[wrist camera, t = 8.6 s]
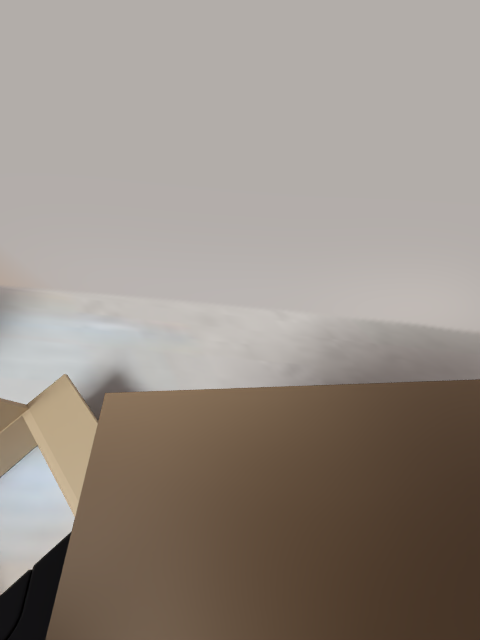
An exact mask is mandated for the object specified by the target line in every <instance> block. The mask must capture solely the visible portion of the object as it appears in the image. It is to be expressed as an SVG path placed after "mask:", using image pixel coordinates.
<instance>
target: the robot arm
mask: <svg viewBox="0 0 480 640" xmlns="http://www.w3.org/2000/svg"><path fill="white" fill-rule="evenodd" d="M70 536H71V532H70V533H69V534H68V535H67V536H66V537H65V538H64V539H63V540H62V541H60V542H59V543H58V544H57V545H56V546H55V547H54V548H53V549H52V550H51V551H49V552H48V553H47V554H46V555H45V556H44V557H43V558H42V559H41V560H39V561H38V562H37V563H36V564H35V565H34V567H33V569H32V570H28V571H27V572H26V573H25V574H24V575H23V576H22V577H20V578H19V579H18V580H17V581H16V582H15V583H14V584H13V585H12V586H11V587H9V588H8V589H7V590H6V591H5V592H4V593H3V594H2V595H0V640H46V636H47V631H48V627H49V623H50V619H51V615H52V611H53V607H54V602H55V598H56V594H57V590H58V586H59V582H60V578H61V573H62V569H63V565H64V561H65V557H66V553H67V549H68V545H69V540H70Z"/></svg>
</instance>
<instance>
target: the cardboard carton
mask: <svg viewBox="0 0 480 640" xmlns="http://www.w3.org/2000/svg"><path fill="white" fill-rule="evenodd" d="M97 425H98V420H97V419H96V417H95V416H94V414H93V413H92V411H91V410H90V408H89V407H88V405H87V404H86V402H85V401H84V399H83V398H82V396H81V395H80V393H79V392H78V390H77V389H76V387H75V386H74V384H73V383H72V381H71V380H70V378H69V377H68V375H66V374H64V375H63V376H62V377H60V378H59V379H58V380H57V381H55V382H54V383H53V384H52V385H50V386H49V387H48V388H47V389H45V390H44V391H43V392H42V393H40V394H39V395H38V396H37V397H35V398H34V399H33V400H32V401H30V402H29V403H28V404H27V405H25V404H21V403H17V402H13V401H9V400H5V399H1V398H0V477H1V476H2V475H3V474H5V473H6V472H7V471H8V470H9V469H10V468H12V467H13V466H14V465H15V464H16V463H17V462H18V461H20V460H21V459H22V458H23V457H24V456H25V455H27V454H28V453H29V452H30V451H31V450H32V449H34V448H35V447H36V446H37V445H38V447H39V449H40V451H41V452H42V454H43V456H44V458H45V460H46V462H47V464H48V466H49V468H50V470H51V472H52V474H53V476H54V478H55V480H56V481H57V483H58V485H59V487H60V489H61V491H62V493H63V495H64V497H65V499H66V501H67V503H68V505H69V507H70V509H71V510H72V512H73V514H74V516H76V511H77V507H78V503H79V499H80V495H81V491H82V487H83V482H84V478H85V474H86V470H87V466H88V462H89V458H90V454H91V449H92V445H93V441H94V437H95V433H96V429H97Z"/></svg>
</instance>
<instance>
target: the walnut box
mask: <svg viewBox="0 0 480 640" xmlns="http://www.w3.org/2000/svg"><path fill="white" fill-rule="evenodd" d="M46 640H480V380H452V381H425V382H397V383H369V384H342V385H314V386H286V387H259V388H231V389H204V390H176V391H148V392H121V393H105V396H104V400H103V404H102V408H101V412H100V416H99V420H98V425H97V429H96V433H95V437H94V441H93V445H92V449H91V454H90V458H89V462H88V466H87V470H86V474H85V478H84V482H83V487H82V491H81V495H80V499H79V503H78V507H77V511H76V516H75V520H74V524H73V528H72V532H71V536H70V540H69V545H68V549H67V553H66V557H65V561H64V565H63V569H62V573H61V578H60V582H59V586H58V590H57V594H56V598H55V602H54V607H53V611H52V615H51V619H50V623H49V627H48V631H47V636H46Z"/></svg>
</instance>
